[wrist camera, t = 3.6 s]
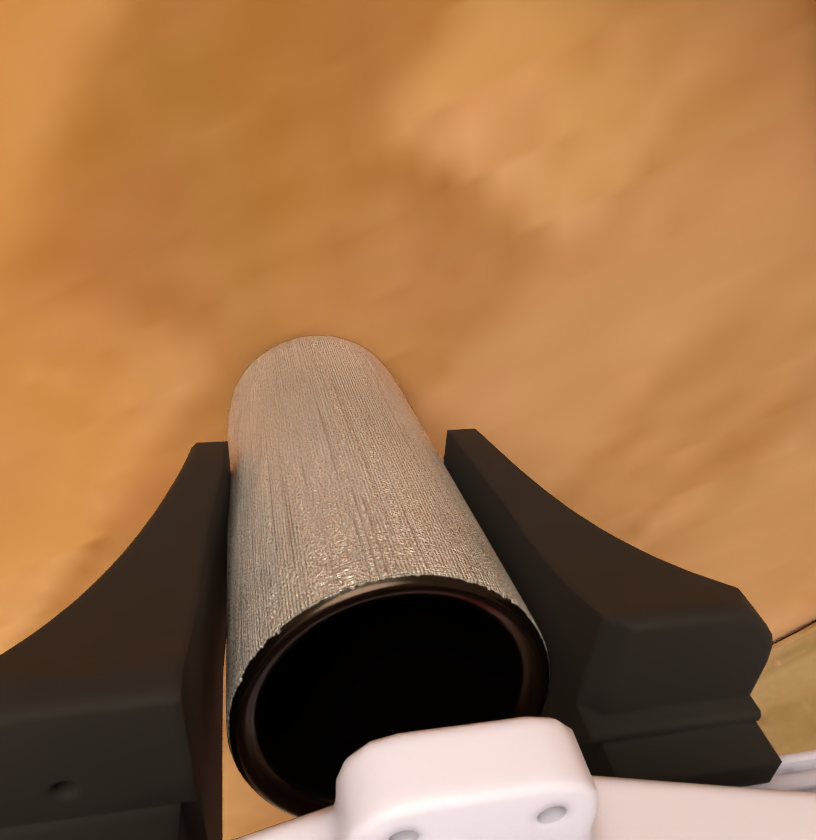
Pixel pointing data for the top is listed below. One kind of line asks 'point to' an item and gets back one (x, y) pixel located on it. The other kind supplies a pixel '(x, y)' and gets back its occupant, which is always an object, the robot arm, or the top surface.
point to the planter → (354, 578)
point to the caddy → (789, 693)
